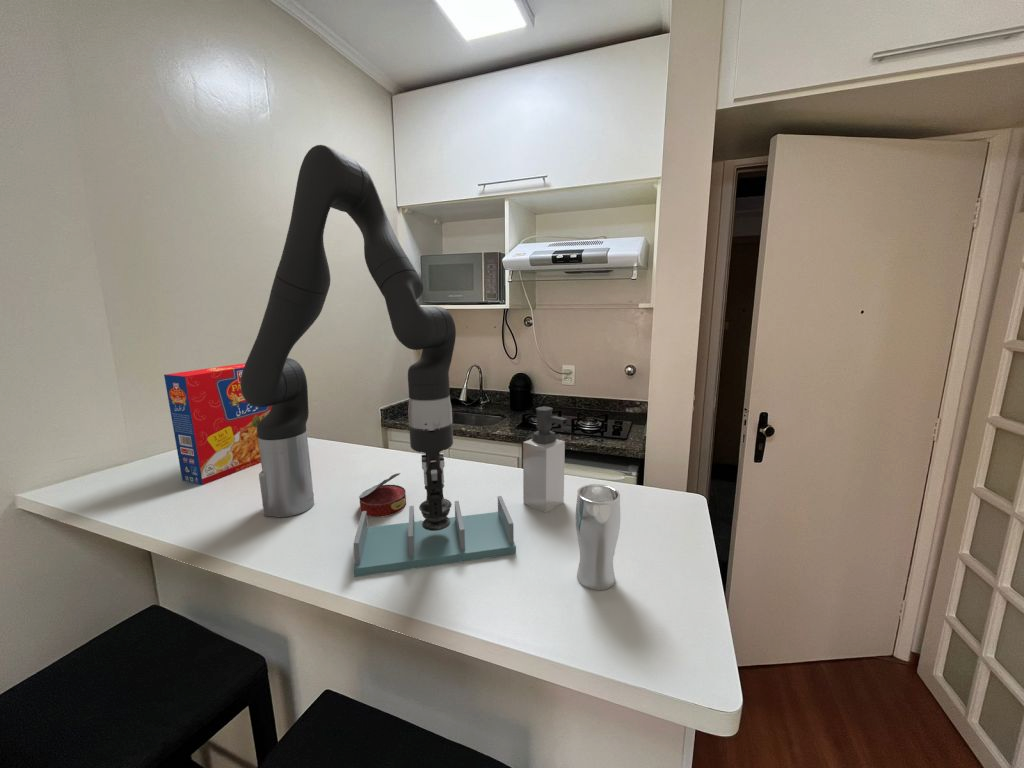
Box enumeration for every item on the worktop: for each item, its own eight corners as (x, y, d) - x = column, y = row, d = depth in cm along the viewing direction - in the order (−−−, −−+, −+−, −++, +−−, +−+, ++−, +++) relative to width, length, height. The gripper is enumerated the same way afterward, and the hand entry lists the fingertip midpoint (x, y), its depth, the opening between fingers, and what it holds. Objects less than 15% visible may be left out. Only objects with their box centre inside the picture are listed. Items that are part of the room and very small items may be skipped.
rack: (353, 576, 68) (351, 546, 67) (363, 534, 80) (361, 508, 79) (515, 553, 74) (515, 525, 73) (501, 517, 86) (501, 493, 85)
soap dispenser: (554, 516, 87) (555, 416, 83) (523, 503, 93) (523, 408, 89) (572, 505, 91) (574, 409, 87) (541, 493, 97) (542, 403, 93)
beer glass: (570, 566, 70) (571, 484, 67) (609, 563, 71) (613, 482, 68) (580, 594, 64) (582, 504, 61) (623, 591, 64) (628, 502, 61)
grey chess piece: (455, 515, 79) (453, 456, 77) (447, 532, 73) (445, 469, 71) (425, 514, 80) (422, 456, 77) (415, 530, 74) (412, 468, 72)
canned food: (376, 537, 88) (350, 507, 83) (368, 512, 96) (344, 483, 92) (421, 505, 91) (398, 474, 86) (409, 483, 100) (388, 454, 95)
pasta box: (202, 485, 104) (185, 376, 98) (182, 480, 106) (164, 374, 101) (296, 449, 129) (286, 361, 124) (277, 446, 132) (267, 360, 127)
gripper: (409, 412, 79) (414, 493, 82) (408, 435, 65) (414, 532, 68) (449, 409, 80) (452, 489, 84) (455, 431, 67) (459, 526, 70)
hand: (435, 508), depth 76 cm, fingers closed on grey chess piece, 6 cm apart
